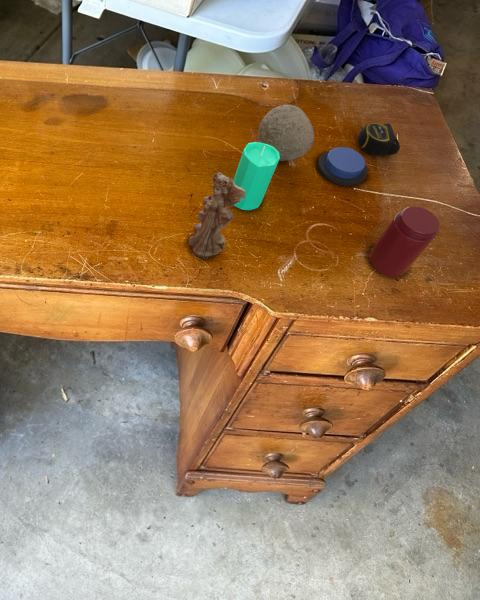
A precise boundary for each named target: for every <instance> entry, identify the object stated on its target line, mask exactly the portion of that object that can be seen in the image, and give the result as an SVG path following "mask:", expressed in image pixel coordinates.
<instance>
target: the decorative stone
mask: <svg viewBox="0 0 480 600" xmlns="http://www.w3.org/2000/svg"><path fill="white" fill-rule="evenodd" d="M257 142H259V143H265V144H268V145H270V146H273V147H274V148H275V149H276V150H277V151H278V152H279V156H280V159H279V162H285V161H293V160H296V159H298V158H300V157H302V156H304V155H305V154H307V153H308V152H309V151H310V149H311V148H312V146H313V144H314V143H315V131H314V127H313V124H312V122H311V120H310V118H309V117H308V115H307V114H306V113H305V112H304V110H302V109H301V108H300V107H299V106H296V105H293V104H289V103H288V104H286V103H285V104H281V105H279V106H275V107H273V108H272V109H270V110H269V111H267V113H266V114H265V116H264V117H263V118H262V119H261V120H260V123H259V126H258V131H257Z"/></svg>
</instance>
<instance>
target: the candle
mask: <svg viewBox="0 0 480 600" xmlns="http://www.w3.org/2000/svg"><path fill="white" fill-rule="evenodd" d="M240 156H241V157H240V160H239V162H238V164H237V167H236V171H235V174H234V176H233V182H235V185H237V186H238V187H240V188H241V187H242V188H243V189H244V190H245V191H246V192H245V193H246V196H245V197H244V198H241V201H240V202H239V203H236V204H235V205H234V206H233V207H236V208H238V209H240V210H244V211H252V210H255V209H258V208H259V207H260V205H261V204H262V202H263V200H264V198H265V195H266V193H267V190H268V187H269V185H270V183H271V181H272V178H273V177H274V173H275V171H276V169H277V167H278V165H279V162H280V161H279V159H280V156H279V152H278V151H277V150H276V149H275V148H274V147H273V146H270V145H268V144H265V143H259V142H258V141H253V142H252V141H251V142H248V143H247V144H246V146H245V147H244V148H243V151H242V154H241V155H240Z"/></svg>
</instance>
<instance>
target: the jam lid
mask: <svg viewBox="0 0 480 600" xmlns="http://www.w3.org/2000/svg"><path fill="white" fill-rule="evenodd" d="M329 151H330V152H329V153H328V154H327V156H326V158H325V166H326V168H327V169H328V171H329V172H331V173H332V174H333V175H335V176H338V177H340V178H346V179H351V178H355V177H357V176H359V175H360V174H361V172H362V171H363V169H364V166H365V165H366V160H365V158H364V156H363V155H362V154H361V153H359V152H358V151H356V150H355V149H352V148H350V147H344V146H339V147H334V148H332V149H331V150H329Z"/></svg>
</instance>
